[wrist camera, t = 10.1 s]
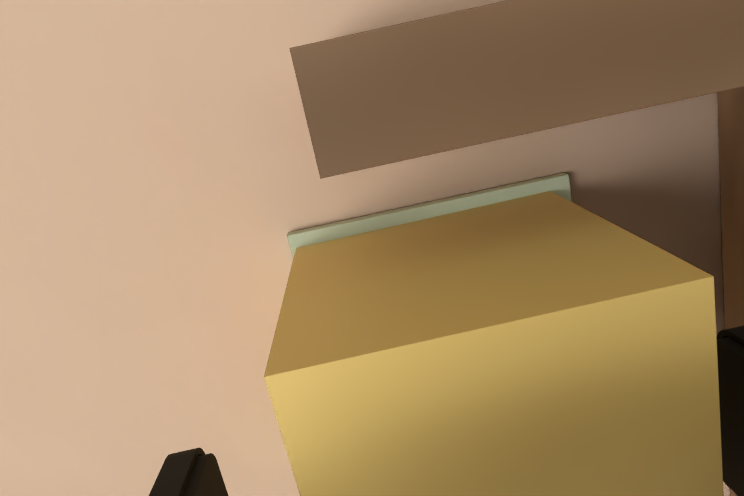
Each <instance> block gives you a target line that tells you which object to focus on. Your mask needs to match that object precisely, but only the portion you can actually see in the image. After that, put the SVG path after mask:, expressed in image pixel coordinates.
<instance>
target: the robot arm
mask: <svg viewBox="0 0 744 496" xmlns="http://www.w3.org/2000/svg"><path fill="white" fill-rule="evenodd" d="M717 360H718V382H719V405H720V427H721V449H722V471H723V481H724V482H725V484H726V485H727V486H728V487H729V488H730V489H731V490H732V491H733V492H734V493H735V494H736V495H737V496H744V325H743V326H738V327H734V328H729V329H725V330H721V331H720V332H719V333H718V335H717ZM149 496H228V493H227V490H226V487H225V484H224V481H223V478H222V475H221V472H220V469H219V466H218V463H217V460H216V458H215V456H214V454H212V453H210V454H206V455H205V453H204V451H203V450H202V449H201V448H196V449H191V450H187V451H182V452H178V453H173V454H170V455H168V456H167V458H166V459H165V462H164V464H163V466H162V468H161V470H160V472H159V475H158V477H157V479H156V481H155V483H154V486H153V488H152V490H151V492H150V494H149Z"/></svg>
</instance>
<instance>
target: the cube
mask: <svg viewBox="0 0 744 496" xmlns="http://www.w3.org/2000/svg"><path fill="white" fill-rule="evenodd" d="M264 379H265V382H266V385H267V389H268V392H269V395H270V399H271V402H272V405H273V408H274V412H275V415H276V418H277V421H278V425H279V428H280V431H281V434H282V438H283V441H284V444H285V448H286V451H287V454H288V457H289V461H290V464H291V467H292V470H293V474H294V477H295V480H296V483H297V487H298V490H299V493H300V496H724V494H723V471H722V449H721V427H720V405H719V382H718V360H717V338H716V315H715V293H714V276H712V275H710V274H708V273H706V272H704V271H703V270H701V269H699V268H697V267H695V266H693V265H691V264H689V263H687V262H685V261H683V260H682V259H680V258H678V257H676V256H674V255H672V254H670V253H668V252H666V251H664V250H662V249H661V248H659V247H657V246H655V245H653V244H651V243H649V242H647V241H645V240H643V239H641V238H640V237H638V236H636V235H634V234H632V233H630V232H628V231H626V230H624V229H622V228H620V227H619V226H617V225H615V224H613V223H611V222H609V221H607V220H605V219H603V218H601V217H599V216H598V215H596V214H594V213H592V212H590V211H588V210H586V209H584V208H582V207H580V206H578V205H577V204H575V203H573V202H571V201H569V200H567V199H565V198H563V197H561V196H559V195H557V194H556V193H554V192H552V191H547V192H542V193H538V194H533V195H529V196H525V197H520V198H516V199H511V200H507V201H502V202H498V203H493V204H489V205H485V206H480V207H476V208H471V209H467V210H462V211H458V212H453V213H449V214H445V215H440V216H436V217H431V218H427V219H422V220H418V221H414V222H409V223H405V224H400V225H396V226H391V227H387V228H382V229H378V230H374V231H369V232H365V233H360V234H356V235H351V236H347V237H342V238H338V239H334V240H329V241H325V242H320V243H316V244H311V245H307V246H302V247H298V248H296V250H295V255H294V259H293V263H292V267H291V271H290V275H289V279H288V283H287V287H286V291H285V295H284V299H283V303H282V307H281V311H280V315H279V319H278V323H277V327H276V331H275V335H274V339H273V343H272V347H271V351H270V355H269V359H268V363H267V367H266V371H265V375H264Z"/></svg>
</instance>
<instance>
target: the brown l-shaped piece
mask: <svg viewBox="0 0 744 496" xmlns="http://www.w3.org/2000/svg"><path fill="white" fill-rule="evenodd" d="M290 52H291V57H292V61H293V65H294V69H295V73H296V78H297V82H298V86H299V90H300V94H301V99H302V103H303V107H304V111H305V116H306V120H307V124H308V128H309V132H310V137H311V141H312V145H313V149H314V153H315V158H316V162H317V166H318V170H319V174H320V179H321V178H325V177H330V176H335V175H339V174H344V173H348V172H353V171H357V170H362V169H367V168H371V167H376V166H380V165H385V164H390V163H394V162H399V161H403V160H408V159H412V158H417V157H422V156H426V155H431V154H435V153H440V152H445V151H449V150H454V149H458V148H463V147H467V146H472V145H477V144H481V143H486V142H490V141H495V140H500V139H504V138H509V137H513V136H518V135H523V134H527V133H532V132H536V131H541V130H545V129H550V128H555V127H559V126H564V125H568V124H573V123H578V122H582V121H587V120H591V119H596V118H600V117H605V116H610V115H614V114H619V113H623V112H628V111H633V110H637V109H642V108H646V107H651V106H655V105H660V104H665V103H669V102H674V101H678V100H683V99H688V98H692V97H697V96H701V95H706V94H710V93H715V92H717V96H718V127H719V159H720V191H721V222H722V254H723V285H724V317H725V329H729V328H734V327H738V326H743V325H744V0H507V1H502V2H498V3H493V4H489V5H484V6H480V7H475V8H470V9H466V10H461V11H457V12H452V13H448V14H443V15H438V16H434V17H429V18H425V19H420V20H416V21H411V22H407V23H402V24H397V25H393V26H388V27H384V28H379V29H375V30H370V31H366V32H361V33H356V34H352V35H347V36H343V37H338V38H334V39H329V40H324V41H320V42H315V43H311V44H306V45H302V46H297V47H293V48H290ZM547 191H552V192H554V193H556V194H557V195H559V196H561V197H563V198H565V199H567V200H569V201H571V202H572V200H571V191H570V182H569V175H568V174H566V173H559V174H555V175H550V176H546V177H541V178H537V179H532V180H527V181H523V182H518V183H514V184H509V185H504V186H500V187H495V188H491V189H486V190H481V191H477V192H472V193H468V194H463V195H458V196H454V197H449V198H445V199H440V200H435V201H431V202H426V203H422V204H417V205H412V206H408V207H403V208H399V209H394V210H390V211H385V212H380V213H376V214H371V215H367V216H362V217H357V218H353V219H348V220H344V221H339V222H334V223H330V224H325V225H321V226H316V227H311V228H307V229H302V230H298V231H293V232H288V234H287V238H288V242H289V246H290V249H291V253H292V257H293V259H294V255H295V250H296V248H298V247H302V246H307V245H311V244H316V243H320V242H325V241H329V240H334V239H338V238H342V237H347V236H351V235H356V234H360V233H365V232H369V231H374V230H378V229H382V228H387V227H391V226H396V225H400V224H405V223H409V222H414V221H418V220H422V219H427V218H431V217H436V216H440V215H445V214H449V213H453V212H458V211H462V210H467V209H471V208H476V207H480V206H485V205H489V204H493V203H498V202H502V201H507V200H511V199H516V198H520V197H525V196H529V195H533V194H538V193H542V192H547ZM730 496H737V495H736V494H735V493H734V492H733V491H732V490H731V489H730Z"/></svg>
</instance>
